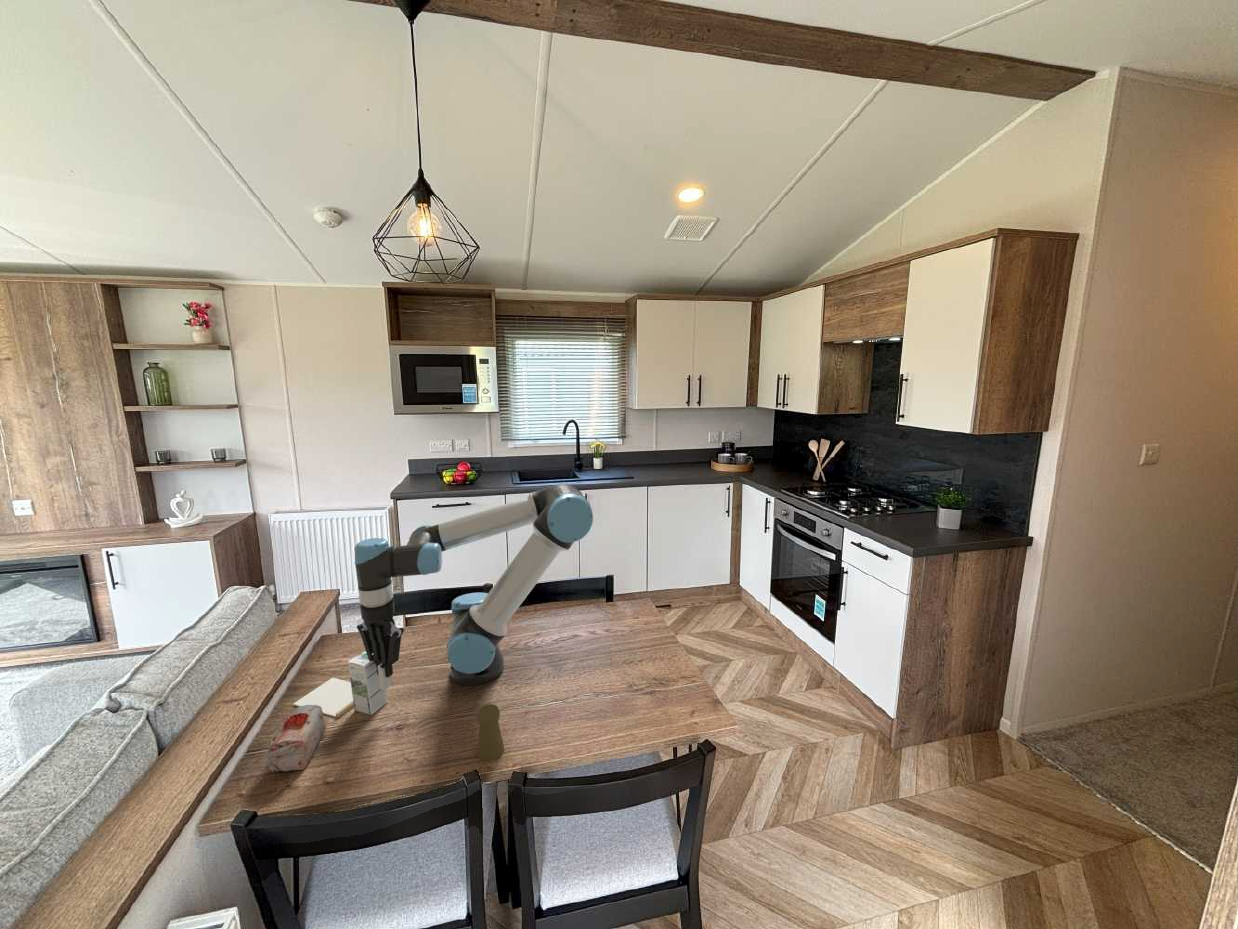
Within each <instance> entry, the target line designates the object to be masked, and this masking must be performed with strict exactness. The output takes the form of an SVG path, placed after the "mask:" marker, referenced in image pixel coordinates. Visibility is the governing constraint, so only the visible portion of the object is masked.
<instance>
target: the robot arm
mask: <svg viewBox="0 0 1238 929" xmlns="http://www.w3.org/2000/svg"><path fill="white" fill-rule="evenodd" d="M593 521H594V516H593V509H592V507H591V504H590V502H589V501H588V500H587V498H586V497H585V496H584V495H583V493H582V492H581V491H580V490H579V489H578V488H577V487H576V486H574V485H571V484H568V483H559V484H555V485H554V484H553V485H551V486H548V487H544V488H542V489H537V490H534V491H531V492H529V494H528V496H527V497H523V498H521V499H518V500H513V501H511V502H508V503H504V504H500V505H498V506H494V507H492V508H491V507H490V508H488V509H485V510H481V511H477V512H475V513H472V514H469V515H465V516H462V517H458V518H454V519H451V520H449V521H445V522H441V523H438V524H435V525H430V524H423V525H420V526H418V527H417V528H416V529H415V530H413V531H412V532H411V534H410V536H409V540H408V542H407V543H406V545H405V544H404V545H398V546H395V545H394V546H392V545H391V546H390V544H389V542H388V540H387V539H386V538H383V537H382V538H381V537H380V538H379V537H372V538H367V539H364V540H361V541H359V542H357V544H356V545H355V546H354V566H355V573H356V580H357V590H358V591H357V592H358V600H359V601H358V602H359V604H360V615H361V619H362V622H361V623H359V624H358V625H357V626H356V629H357V630H358V633H359V634H360V636H361V641H362V643H363V644H362V645H363V646H364V649H365V650H364V651H366V653H367V657H368V660H369V661H374V664H375V665H376V669H377V674H378V675H379V683H380V689H382V690H385V691H386V690H387V689H389V688H390V687H391V686H392V685H394V684H393V682H394V681H393V674H394V669H393V668H394V667H393V665H394V664H395V663H396V662H397V661H399V658H400V651H401V650H400V649H401V644H402V643H401V641H402V636H403V634H404V632H405V629H404V628H403V627H400V628H398V626H396V621H395V620H394V614H395V612H396V610H395V609H396V608H395V599H394V591H393V589H394V588H393V579H392V578H399V577H401V578H402V577H410V576H422V575H423V576H427V575H431V574H436V573H439V572H441V569H442V564H443V555H442V554H443V553H442V552H445V551H447V550H451V549H455V548H457V547H458V548H459V547H462V546H463V545H468V544H471V543H474V542H477V541H481V540H484V539H487V538H489V537H490V538H491V537H493V536H496V535H500V534H503V533H506V532H509V531H512V530H513V531H514V530H517V529H519V528H522V527H525V526H529V525H532V528H533V532H532V534H531V536H530V537H529V538H528V539H527V540H526V542H525V543H524V545H523V546H522V547H521V548H520V549H519V550H520V551H518V553H517V554H516V555H515V557H514V558H513V560H512V561H511V562H510V564H509V565H508V566H507V568H506V569H505V570H504V572H503V573H502V574H501V575H500V577H499V579H498V580H497V581H496V583H495V584H494V585H493V586H492V588H491V589H490V590H489V592H471V593H465V594H462V595H458V596H457V597H456V598H454V599H453V600H452V601H451V607H450V610H451V616H452V617H451V619H452V621H451V628H450V631H449V639H448V643H447V645H446V655H447V660H448V664H450V676H451V678H452V680H453V682H455V683H458V684H460V685H463V686H474V685H475V686H477V685H481V684H484V683H487V682H490V681H492V680H494V679H495V678H497V677H498V676H499V675H500V674H501V673H502V672H503V670H504V668H505V660H504V655H503V654H502V652H501V649H500V647H499V644H500V643H501V641H502V640H503V639H504V638H505V636H506V635H507V634H508V626H507V624H508V622H509V621H510V619H511V618H512V617H513V616H514V614H515V613H516V612H517V610H518V609H519V607H521V605H522V604H523V602H524V601H525V600H526V598H527V596H529V594H530V593H531V592H532V590H533V589H534V587H535V586H536V585H537V583H538V582H539V581H540V580H541V578H542V576H544V574H545V572H546V571H547V570H548V569H549V567H550V566H551V564H552V563H553V562H554V560H555V559H556V558H557V557H558V555H559V553H561V552H564V551H565V552H566V551H569V550H570V548H571V547H572V546H573V545H574V543H575V542H578V541H581V540H582V539H584V537H586V536H587V534H588V533H589V532H590V530H591V528H592V525H593ZM372 654H373V655H372Z"/></svg>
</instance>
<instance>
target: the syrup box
mask: <svg viewBox="0 0 1238 929" xmlns="http://www.w3.org/2000/svg"><path fill="white" fill-rule="evenodd" d="M372 655H373V654H372ZM347 665H348V666H347V667H348V673H349V682H351V688H352V695H353V702H354V707H353V708H354V712H357V713H361V714H365V715H368V716H372V715H374V714H375V713H376V712H378V711H379V710H380V709H382V707H384V706H385V705H386V704H387V703H388V698H387V693H386V690H382V689H380V683H379V675H378V674H377V669H376V665H375V664H374V661H369V660H368V657H367V653H366V650H364V651H362V652H360V653H358V654H356V655H355V656H353V658H351V659H350V660H349V661H347Z"/></svg>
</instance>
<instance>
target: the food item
mask: <svg viewBox="0 0 1238 929" xmlns="http://www.w3.org/2000/svg"><path fill="white" fill-rule="evenodd" d="M293 710H294V711H293V712H292V713H291V715H290V716H289V717H283V718H282V719H281V720H282V724H283V725H282V729H281V730H280V732H279V731H278V730H279V729H277V730H276V731H275V733H274V735H273V736H272V737H271V740H270V744H269V747H268V750H267V752H266V757H267V763H268V764H267V765H269V766H268V769H269V770H270V771H271V772H272V773H274V772H275V771H276V772H280V771H281V772H289V771H302V770H305V769H307V766H308V764H309V762H310V760H311V758H312V756H313V754H314V753H315V750H316V748H317V747H318V745H319V742H320V740H321V739H322V737H323V735H324V732H325V730H326V729H327V728H326V724H325V723H326V722H325V719H324V714H323V712H322V708H321V707H320V706H318V705H305V706H300V707H298V706H296V708H294V709H293ZM278 732H279V733H278ZM277 734H278V735H277Z"/></svg>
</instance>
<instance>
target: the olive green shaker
mask: <svg viewBox="0 0 1238 929" xmlns="http://www.w3.org/2000/svg"><path fill="white" fill-rule="evenodd" d="M500 717H501V712H500V708H499V707H498V706H497V705H496V704H492V703H489V704H488V703H487V704H484V705H482V706H480V707H479V708H478V710H477V712H476V722H477V724H478V725H479V726H478V727H479V728H478V739H477V740H478V742H477V754H476V755H477V757H478V759H479V760H481V761H484V762H489V761H495V760H496V759H499V757H501V756H502V754H504V752H505V745H504V741H503V738H502V737H503V736H502V731H501V728H500V723H499V720H500V719H501V718H500Z"/></svg>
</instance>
